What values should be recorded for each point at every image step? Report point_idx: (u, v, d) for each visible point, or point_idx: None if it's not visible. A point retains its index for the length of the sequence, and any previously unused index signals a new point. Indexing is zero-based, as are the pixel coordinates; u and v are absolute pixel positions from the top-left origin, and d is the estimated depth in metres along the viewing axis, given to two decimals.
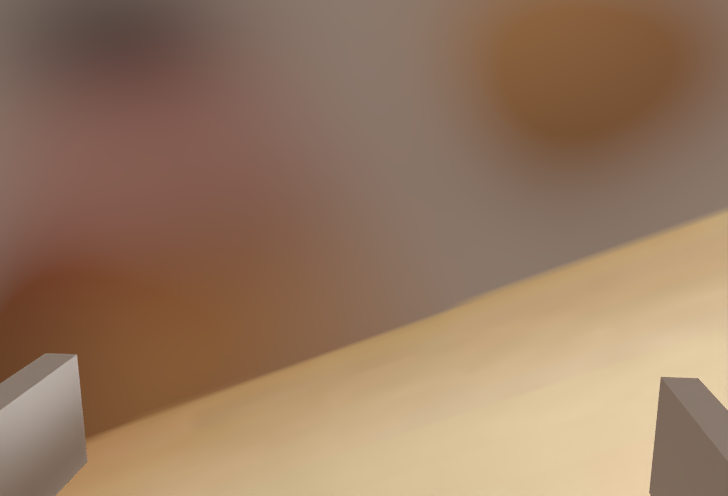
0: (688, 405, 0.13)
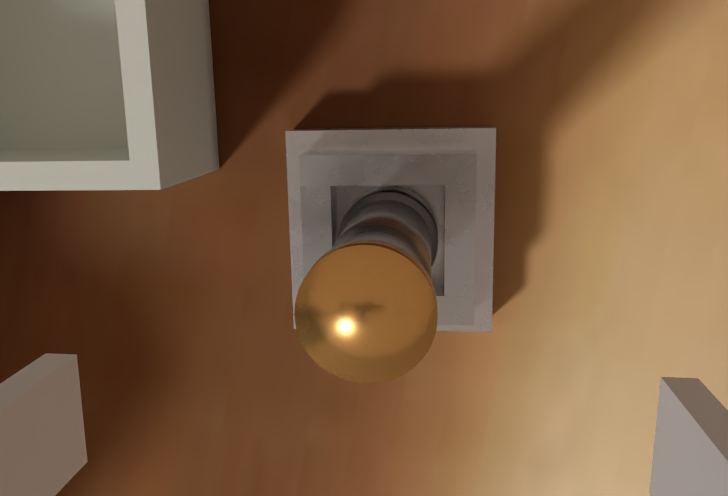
0: (687, 404, 0.13)
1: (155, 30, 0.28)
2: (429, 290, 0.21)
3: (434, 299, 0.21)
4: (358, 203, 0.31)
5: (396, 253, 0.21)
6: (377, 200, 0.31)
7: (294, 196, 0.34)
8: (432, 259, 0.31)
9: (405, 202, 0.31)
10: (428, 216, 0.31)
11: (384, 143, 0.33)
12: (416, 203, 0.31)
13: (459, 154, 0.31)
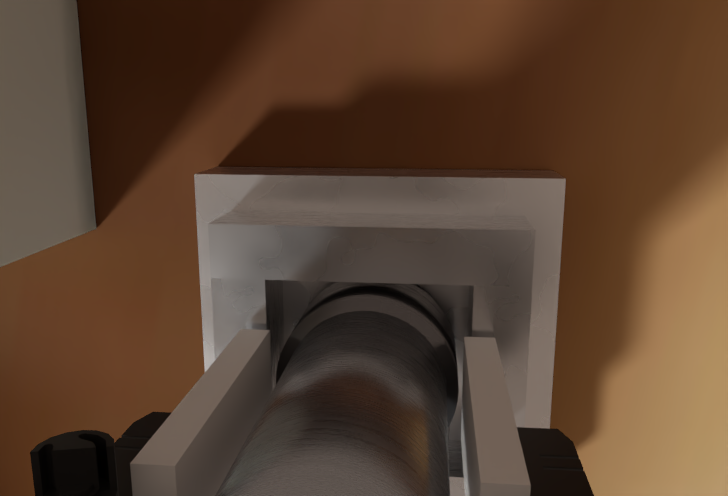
0: (470, 356, 0.16)
1: None
2: None
3: None
4: (314, 315, 0.17)
5: None
6: (349, 311, 0.17)
7: (210, 285, 0.20)
8: (447, 418, 0.17)
9: (400, 316, 0.17)
10: (442, 342, 0.17)
11: (366, 199, 0.19)
12: (420, 319, 0.17)
13: (502, 231, 0.16)
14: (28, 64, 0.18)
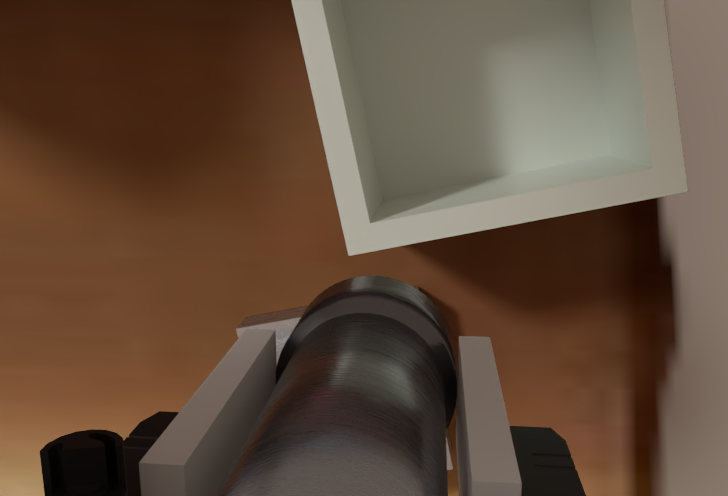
0: (465, 356, 0.16)
1: None
2: None
3: None
4: (315, 315, 0.17)
5: None
6: (350, 313, 0.17)
7: None
8: (445, 422, 0.17)
9: (401, 319, 0.17)
10: (442, 347, 0.17)
11: None
12: (421, 322, 0.17)
13: None
14: None
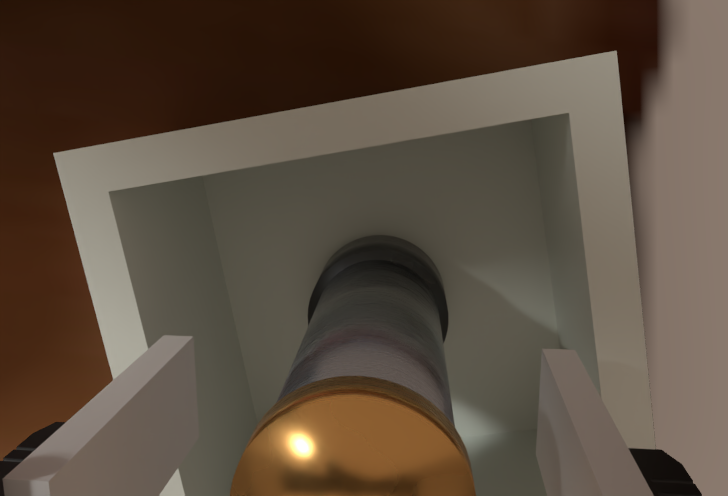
0: (555, 370, 0.15)
1: None
2: (466, 478, 0.12)
3: (474, 493, 0.12)
4: (339, 262, 0.22)
5: (411, 414, 0.12)
6: (366, 260, 0.22)
7: None
8: None
9: (405, 264, 0.22)
10: (436, 285, 0.22)
11: None
12: (421, 266, 0.22)
13: None
14: None
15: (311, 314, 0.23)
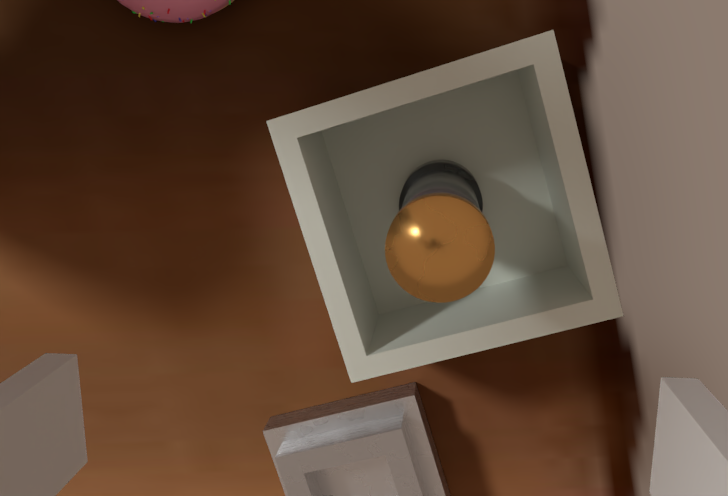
0: (687, 404, 0.13)
1: None
2: (487, 226, 0.27)
3: (491, 232, 0.27)
4: (414, 174, 0.38)
5: (459, 200, 0.27)
6: (429, 170, 0.38)
7: (366, 411, 0.43)
8: None
9: (453, 170, 0.37)
10: (473, 180, 0.37)
11: (425, 466, 0.43)
12: (462, 170, 0.37)
13: None
14: None
15: (401, 208, 0.38)
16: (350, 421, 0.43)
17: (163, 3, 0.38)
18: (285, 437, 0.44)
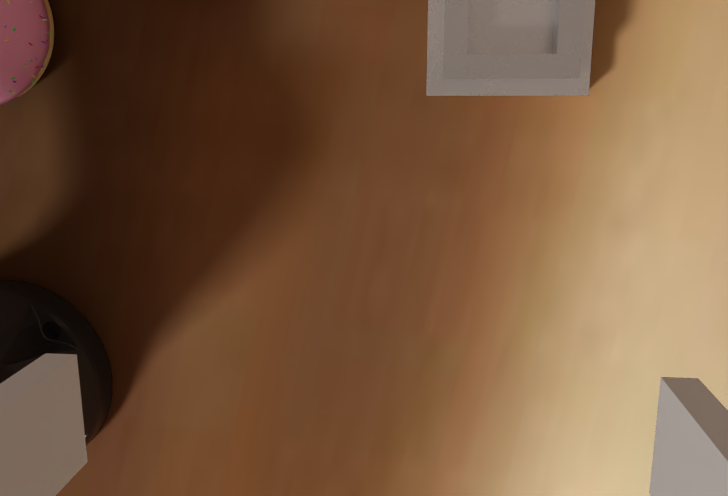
0: (688, 404, 0.13)
1: None
2: None
3: None
4: None
5: None
6: None
7: None
8: None
9: None
10: None
11: None
12: None
13: None
14: None
15: None
16: (440, 1, 0.42)
17: (23, 45, 0.44)
18: (439, 74, 0.43)
